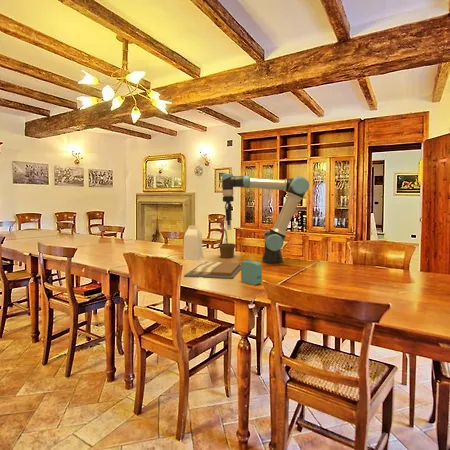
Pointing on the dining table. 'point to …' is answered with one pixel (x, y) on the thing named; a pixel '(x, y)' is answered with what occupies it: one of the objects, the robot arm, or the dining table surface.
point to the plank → (206, 268)
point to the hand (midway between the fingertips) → (229, 229)
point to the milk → (193, 244)
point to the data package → (251, 272)
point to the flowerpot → (226, 245)
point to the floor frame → (220, 271)
